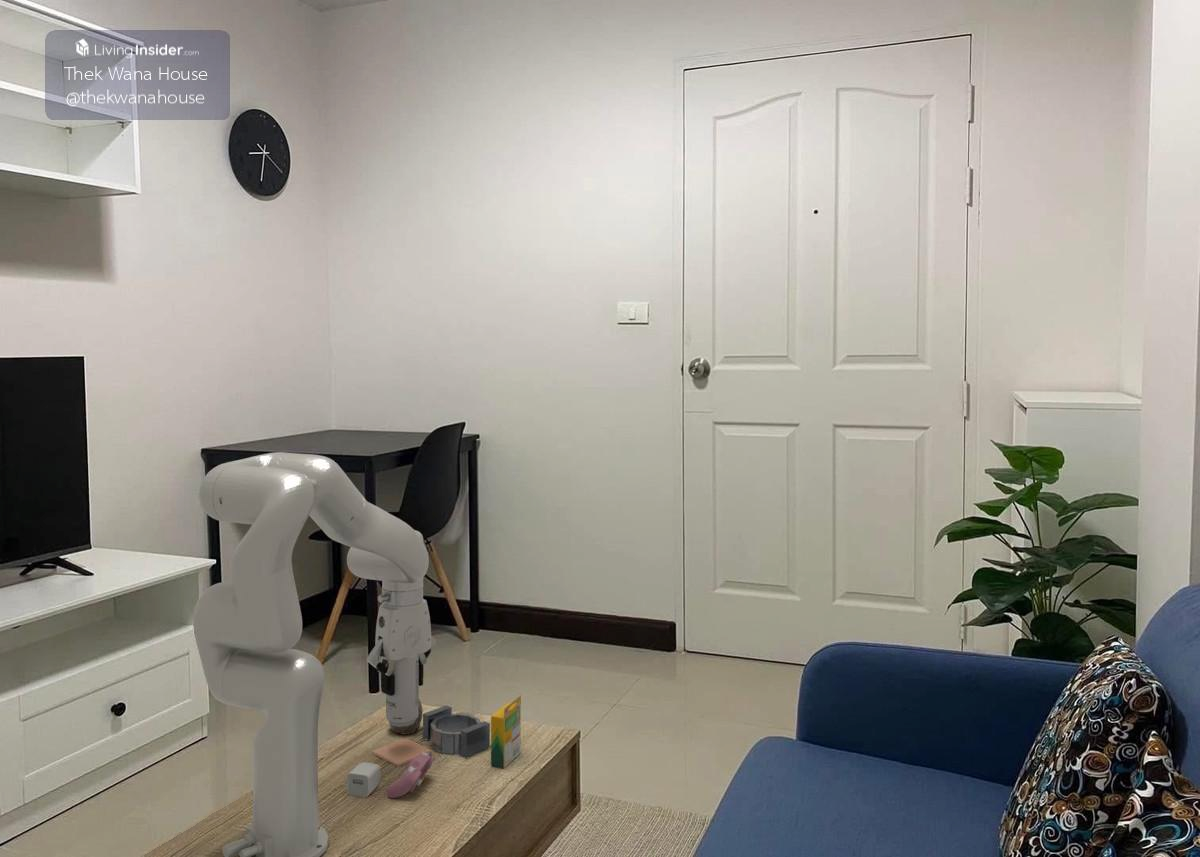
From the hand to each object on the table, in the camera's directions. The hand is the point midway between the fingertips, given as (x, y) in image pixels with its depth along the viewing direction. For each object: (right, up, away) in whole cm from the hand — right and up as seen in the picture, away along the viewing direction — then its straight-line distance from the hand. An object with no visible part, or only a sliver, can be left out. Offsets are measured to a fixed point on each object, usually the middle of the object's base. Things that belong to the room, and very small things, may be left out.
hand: (402, 687), depth 180 cm
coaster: (0, -13, +1) cm, 13 cm away
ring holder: (+9, -12, +6) cm, 17 cm away
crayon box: (+20, -14, 0) cm, 24 cm away
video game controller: (+4, -15, -12) cm, 19 cm away
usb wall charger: (-4, -14, -12) cm, 19 cm away
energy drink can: (0, -7, +1) cm, 7 cm away
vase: (-2, -12, +12) cm, 17 cm away
